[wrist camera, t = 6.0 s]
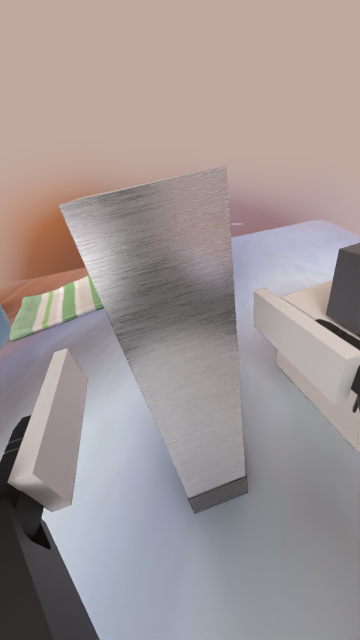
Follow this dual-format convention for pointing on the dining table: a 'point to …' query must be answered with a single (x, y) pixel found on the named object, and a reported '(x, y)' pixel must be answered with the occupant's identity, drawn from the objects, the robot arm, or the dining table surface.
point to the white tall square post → (174, 316)
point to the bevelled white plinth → (340, 415)
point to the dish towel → (55, 307)
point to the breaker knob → (346, 289)
